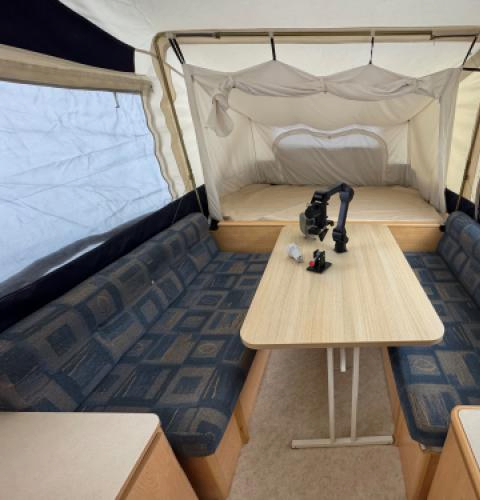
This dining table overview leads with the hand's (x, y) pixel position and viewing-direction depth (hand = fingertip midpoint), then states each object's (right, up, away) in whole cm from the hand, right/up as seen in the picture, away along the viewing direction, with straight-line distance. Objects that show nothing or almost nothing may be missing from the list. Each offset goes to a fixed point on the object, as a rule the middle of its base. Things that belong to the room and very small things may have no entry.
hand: (321, 241), depth 148 cm
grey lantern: (-11, +4, +39) cm, 41 cm away
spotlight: (-16, -10, +10) cm, 21 cm away
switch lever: (-3, -11, -5) cm, 12 cm away
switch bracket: (-1, -14, 0) cm, 14 cm away
